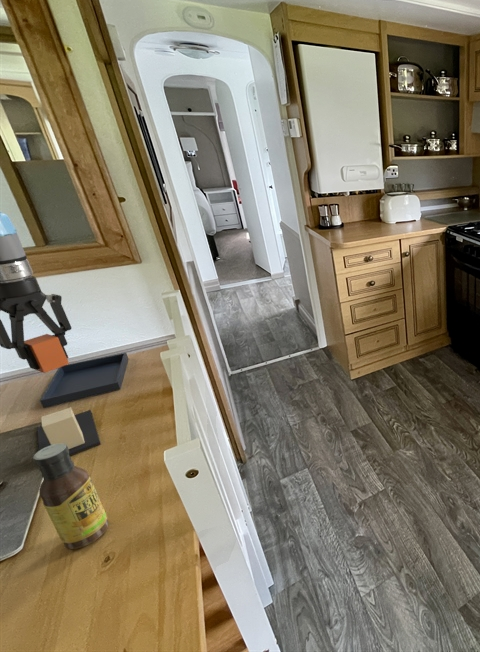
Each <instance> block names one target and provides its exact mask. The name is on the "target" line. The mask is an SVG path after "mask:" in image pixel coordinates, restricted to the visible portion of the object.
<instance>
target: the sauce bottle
mask: <svg viewBox="0 0 480 652" xmlns="http://www.w3.org/2000/svg"><path fill="white" fill-rule="evenodd" d="M32 460H33V462H34V464H35V466H37V467H38V469H39V471H40V473H41V477H42V478H43V479H42V482H41V483H40V486H39V491H38V493H39V497H40V498H41V500H42V504H43V506H44V508H45V510H46V512H47V514H48V516H49V518H50V520H51V523H52V525H53V527H54V529H55V531H56V533H57V535H58V537H59V539H60V541H61V542H62V543H63V544H64V546H65V548H66V549H69V550H78V549H80V548H84V547H87V546H88V545H90V544H92V543H94V542H96V541H97V540H98V539H99V538H101V536H103V535H104V534H105V533H106V532H107V530H108V527H109V520H108V515H107V513H106V511H105V508H104V506H103V504H102V502H101V500H100V497H99V495H98V492H97V490H96V487H95V484H94V482H93V480H92V478H91V476H90V475H89V473H88V471H87V470H86V469H84V468H82V467H80V466H76V465H75V463H74V462H73V460H72V458H71V456H70V455H69V449H68V447H67V445H66V444H62V443H61V444H54V445H50V446H48V447H45V448H43V449H41V450H40V451H39V450H38V451H36V453H34V455H33V457H32Z"/></svg>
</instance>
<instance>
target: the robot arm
mask: <svg viewBox="0 0 480 652" xmlns="http://www.w3.org/2000/svg"><path fill="white" fill-rule="evenodd" d="M33 274H34V271H33V269H32V266H31V264H30V261H29V259H28V257H27V255H26V251H25V250H24V247H23V245H22V242H21V240H20V237H19V235H18V233H17V229H16V228H15V226H14V224H13V222H12V220H11V219H10V217H9V215H7V214H6V213H4V212H0V312H4V313H6V314H8V319H9V321H10V333H11V334H10V335H11V338H10V336H9V334H8V332H7V329H6V328H5V325H4V323H3V321H2V319H1V318H0V347H1V348H3V349H6V350H12V349H14V350H15V352H16V354H17V356H18V358H19V359H20V360H26V362H27V364H28V366H29V368H30V369H32V370H35V371H38V369H40V367H39V365H38V363H37V361H36V359H35V357H34V354H33V352H32V350H31V348H30V346H28V345H25V344H24V341H25V333H24V321H25V317H27V316H29V315H32V314H33V315H35V316H36V317H37V318H38V319H39V320H40V321H41V322H42V323H43V324H44V325H45V326H46V327H47V328H48V330H49V331H50V332H51V333H52V334H51V335H52V336H55V337H58V339H59V341H60V344H61V346H62V348H63V351H64V353H65V355H66V357H67V360H69V359H70V357H69V355H68V352H67V351H66V348H65V347H66V346H68V341H67V339H66V337H65V336H66V333H67V332H69V331H72V326H71V325H72V324H71V323H70V321H69V318H68V316H67V314H66V311H65V309H64V306H63V305H62V298H63V297H62V295H60V294H56V293H51V294H45V293H44V292H43V291H42V289H41V286H40V284H39V282H38V280H37V277H36V276H34V275H33ZM45 302H47V303H49V305H50V307H51V310H52V312H53V314H54V317H55V319H56V321H57V323H58V324H57V323H56V322H55V321H54V320H53V319H52V317H51V316H50V315H49V314H48V313H47V310H45V309H44V308H43V306H44V305H45Z"/></svg>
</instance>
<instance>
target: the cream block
mask: <svg viewBox="0 0 480 652" xmlns="http://www.w3.org/2000/svg"><path fill="white" fill-rule="evenodd" d="M74 415H75V413H74V411H73V408H72V407H67V408H64V409H62V410H58V411H56V412H55V411H54V412H53V413H49V414H46V415H43V416H41V417H40V421H41V426H42V428H43V430H44V432H45V434H46V436H47V438H48V440H49V442H50V444H51V445H54V444H61V443H62V444H66V445H67V447H68V449H70V448H73V447H76V446H78V445H81V444H84V443H85V442H84V438H83V433H82V431H81V429H80V427H79V424H78V422H77V420H76V418H75V416H74Z"/></svg>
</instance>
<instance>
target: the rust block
mask: <svg viewBox="0 0 480 652" xmlns="http://www.w3.org/2000/svg"><path fill="white" fill-rule="evenodd" d="M52 335H53V334H48V333H45V334H42V335H39V336H35V337H32V338H29V339H26V340H24V344H25V345H28V346H30V348H31V350H32V352H33V354H34V357H35V359H36V361H37V363H38V365H39V367H40V369H38V370H37V372H40V373H43V374H46V373H48V372H52V371H54V370H58V368H59V367H62V366H65V365H68V364H70V362H69V359H67V357H66V355H65V353H64V351H63V348H62V346H61V344H60V341H59V339H58V337H55V336H52Z"/></svg>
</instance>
